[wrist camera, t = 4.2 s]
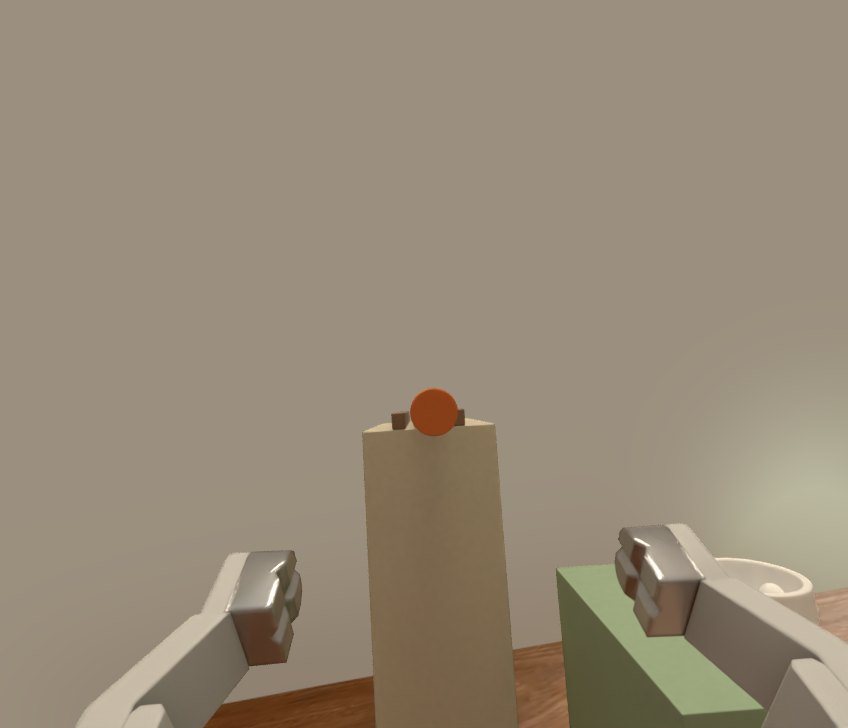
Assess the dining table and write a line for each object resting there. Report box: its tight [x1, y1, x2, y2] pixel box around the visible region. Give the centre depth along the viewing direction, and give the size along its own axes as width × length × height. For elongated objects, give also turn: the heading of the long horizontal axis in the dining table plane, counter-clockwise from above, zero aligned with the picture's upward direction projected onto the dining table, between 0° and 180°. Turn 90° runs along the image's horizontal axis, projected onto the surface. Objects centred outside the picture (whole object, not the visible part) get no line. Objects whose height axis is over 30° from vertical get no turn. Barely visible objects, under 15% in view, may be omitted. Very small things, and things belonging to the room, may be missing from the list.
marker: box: [410, 388, 458, 436], centre depth 28 cm, size 2×20×2 cm, turn 1°
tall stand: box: [362, 409, 518, 728], centre depth 32 cm, size 8×14×27 cm, turn 1°
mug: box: [715, 558, 820, 626], centre depth 41 cm, size 12×10×9 cm
